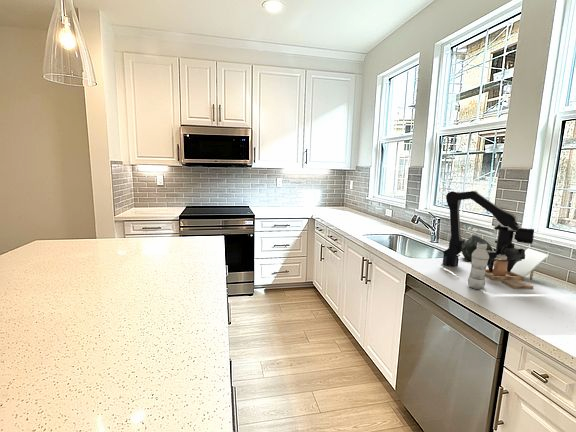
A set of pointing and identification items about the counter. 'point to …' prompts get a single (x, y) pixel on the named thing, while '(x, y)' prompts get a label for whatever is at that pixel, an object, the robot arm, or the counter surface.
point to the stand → (517, 284)
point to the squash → (473, 246)
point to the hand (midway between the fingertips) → (499, 271)
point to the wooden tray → (508, 276)
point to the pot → (500, 267)
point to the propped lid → (529, 263)
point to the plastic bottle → (478, 266)
